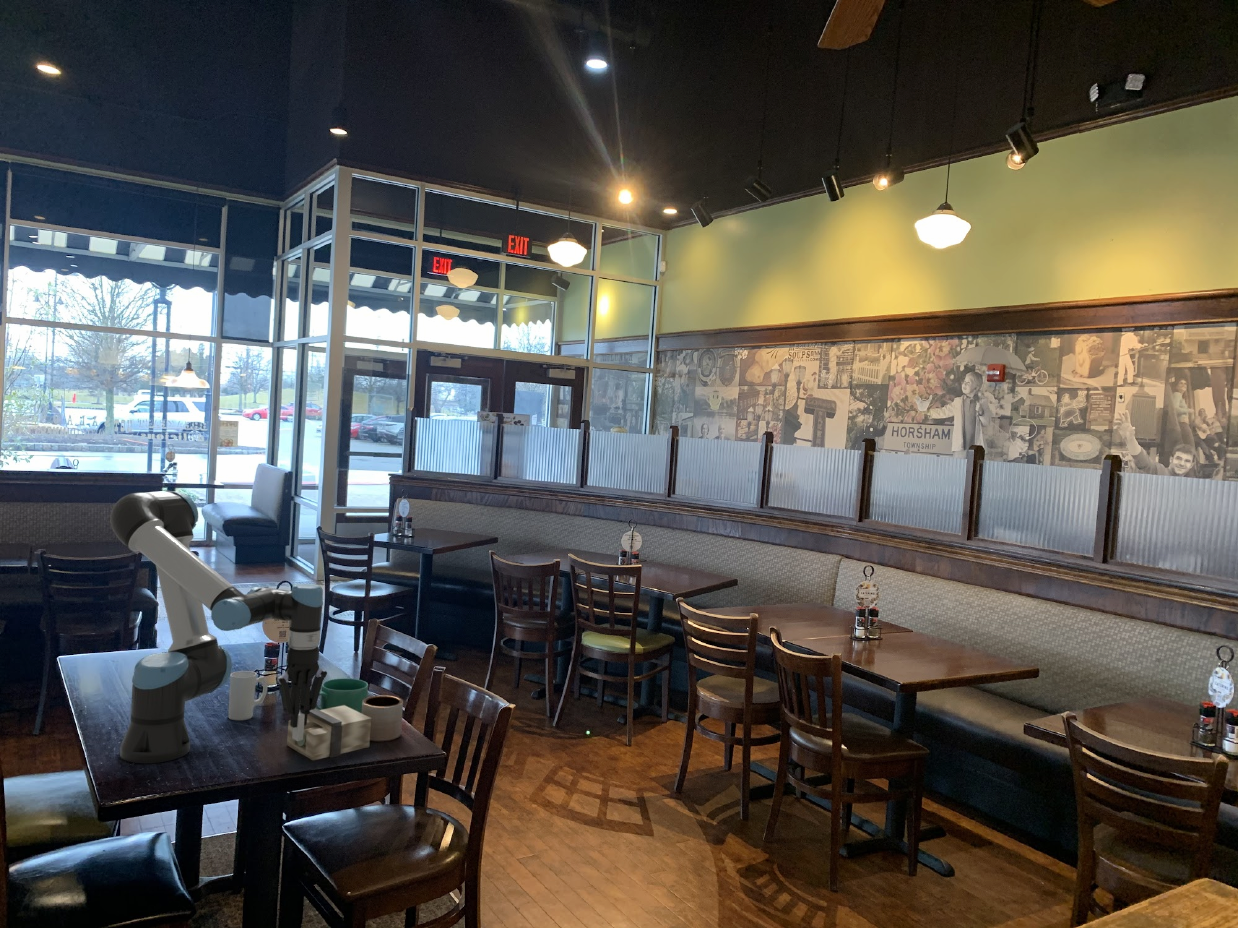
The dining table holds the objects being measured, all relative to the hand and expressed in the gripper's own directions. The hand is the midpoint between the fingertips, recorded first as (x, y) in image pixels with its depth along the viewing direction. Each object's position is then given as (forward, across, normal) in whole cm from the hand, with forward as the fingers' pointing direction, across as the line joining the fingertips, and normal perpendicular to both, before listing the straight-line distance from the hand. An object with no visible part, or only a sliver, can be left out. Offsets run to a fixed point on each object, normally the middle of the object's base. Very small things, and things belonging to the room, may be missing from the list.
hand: (297, 738), depth 219 cm
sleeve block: (+4, +9, 0) cm, 10 cm away
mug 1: (+4, +3, +33) cm, 34 cm away
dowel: (+2, +8, 0) cm, 8 cm away
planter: (+4, +24, -1) cm, 24 cm away
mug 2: (+4, +22, +18) cm, 29 cm away
